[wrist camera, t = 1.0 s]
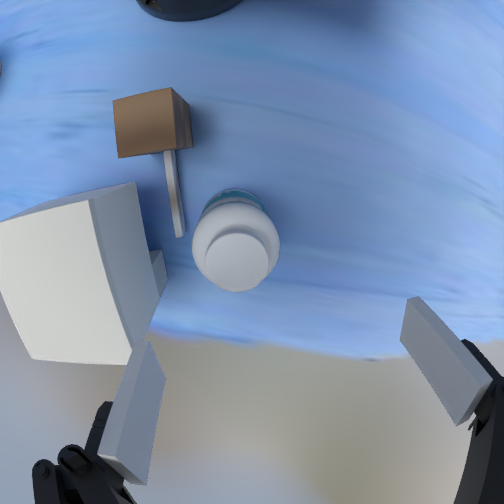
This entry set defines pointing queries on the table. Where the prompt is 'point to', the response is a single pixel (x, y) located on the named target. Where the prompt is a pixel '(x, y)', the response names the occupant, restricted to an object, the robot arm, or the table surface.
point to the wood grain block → (156, 136)
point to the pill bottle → (235, 241)
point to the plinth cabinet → (81, 276)
